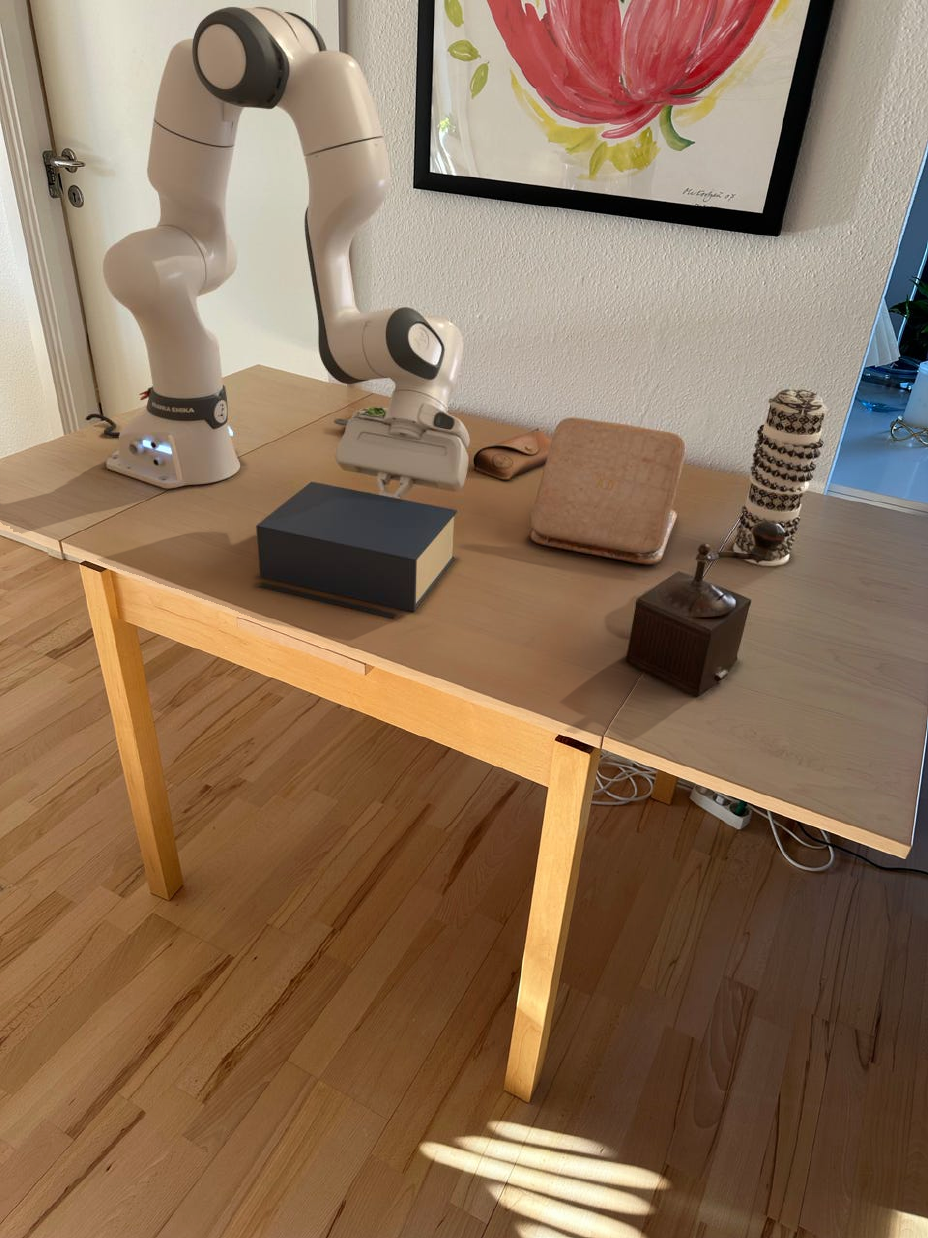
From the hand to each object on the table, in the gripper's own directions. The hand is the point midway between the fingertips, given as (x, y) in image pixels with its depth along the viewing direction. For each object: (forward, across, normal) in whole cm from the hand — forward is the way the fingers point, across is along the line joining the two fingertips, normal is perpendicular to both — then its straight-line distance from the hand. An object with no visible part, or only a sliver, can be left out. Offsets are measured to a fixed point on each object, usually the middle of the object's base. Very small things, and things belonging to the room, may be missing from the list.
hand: (387, 505), depth 134 cm
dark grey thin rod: (+18, 0, -10) cm, 21 cm away
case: (-8, +30, +16) cm, 35 cm away
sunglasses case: (-23, +10, +31) cm, 40 cm away
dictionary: (+11, 0, -4) cm, 12 cm away
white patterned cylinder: (-10, +54, +18) cm, 58 cm away
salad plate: (-26, -17, +34) cm, 45 cm away
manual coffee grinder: (+13, +48, -5) cm, 50 cm away
